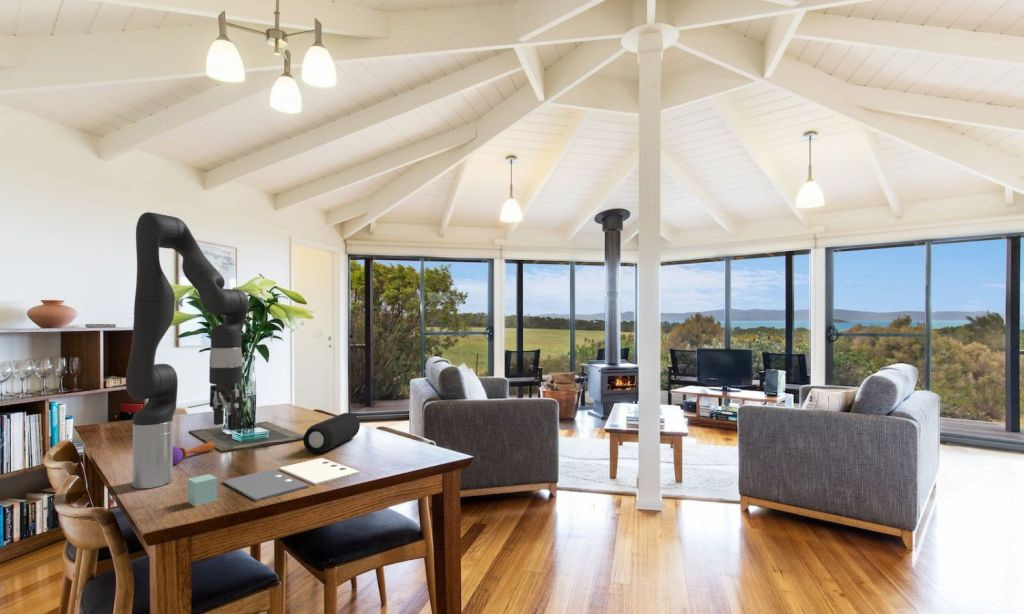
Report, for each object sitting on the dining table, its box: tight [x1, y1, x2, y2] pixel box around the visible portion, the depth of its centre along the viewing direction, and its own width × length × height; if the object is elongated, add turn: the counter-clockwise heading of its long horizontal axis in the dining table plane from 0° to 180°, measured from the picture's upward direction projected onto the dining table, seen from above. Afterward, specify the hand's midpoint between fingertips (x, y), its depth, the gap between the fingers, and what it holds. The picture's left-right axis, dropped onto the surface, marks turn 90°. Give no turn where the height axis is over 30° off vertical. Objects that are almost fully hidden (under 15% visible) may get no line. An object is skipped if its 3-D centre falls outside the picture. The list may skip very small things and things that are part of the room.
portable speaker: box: [302, 412, 361, 454], centre depth 186 cm, size 26×10×10 cm, turn 171°
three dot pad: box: [278, 457, 361, 486], centre depth 155 cm, size 22×14×1 cm, turn 49°
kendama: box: [173, 441, 216, 466], centre depth 169 cm, size 6×6×20 cm
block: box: [187, 473, 218, 507], centre depth 130 cm, size 5×5×6 cm
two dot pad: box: [221, 468, 310, 502], centre depth 143 cm, size 22×14×1 cm, turn 49°
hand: (225, 426), depth 135 cm, fingers open, 8 cm apart
